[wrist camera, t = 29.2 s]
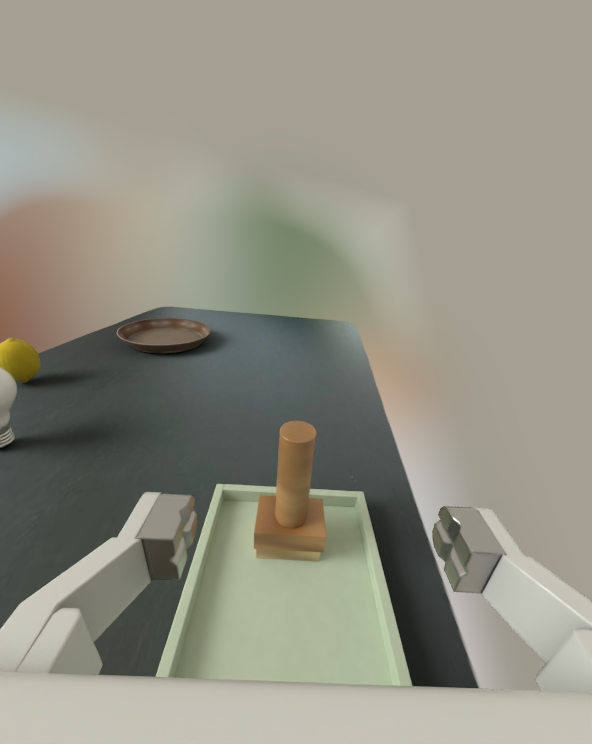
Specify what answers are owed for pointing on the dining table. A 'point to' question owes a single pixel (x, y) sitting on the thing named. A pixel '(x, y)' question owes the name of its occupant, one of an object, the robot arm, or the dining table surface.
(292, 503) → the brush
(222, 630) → the tray
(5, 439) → the lightbulb
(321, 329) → the dining table surface
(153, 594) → the dining table surface
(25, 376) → the lemon
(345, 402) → the dining table surface
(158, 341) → the plant saucer
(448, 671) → the dining table surface
